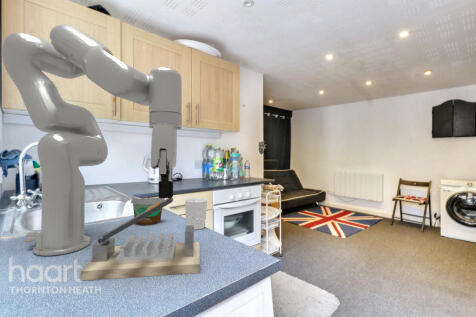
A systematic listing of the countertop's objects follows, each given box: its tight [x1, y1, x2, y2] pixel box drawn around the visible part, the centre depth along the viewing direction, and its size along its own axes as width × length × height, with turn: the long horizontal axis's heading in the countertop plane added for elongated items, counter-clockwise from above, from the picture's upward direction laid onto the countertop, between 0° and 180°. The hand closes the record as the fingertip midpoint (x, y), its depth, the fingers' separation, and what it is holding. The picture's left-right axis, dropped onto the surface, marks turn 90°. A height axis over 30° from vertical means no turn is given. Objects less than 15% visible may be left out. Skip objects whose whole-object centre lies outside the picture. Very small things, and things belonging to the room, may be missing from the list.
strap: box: [97, 197, 174, 243], centre depth 55 cm, size 18×4×2 cm, turn 100°
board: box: [79, 241, 201, 281], centre depth 55 cm, size 24×13×2 cm, turn 100°
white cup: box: [184, 197, 208, 231], centre depth 84 cm, size 8×8×10 cm
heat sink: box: [91, 225, 195, 265], centre depth 55 cm, size 22×9×6 cm, turn 100°
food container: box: [130, 196, 166, 226], centre depth 87 cm, size 12×6×10 cm, turn 106°
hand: (166, 197), depth 56 cm, fingers closed
